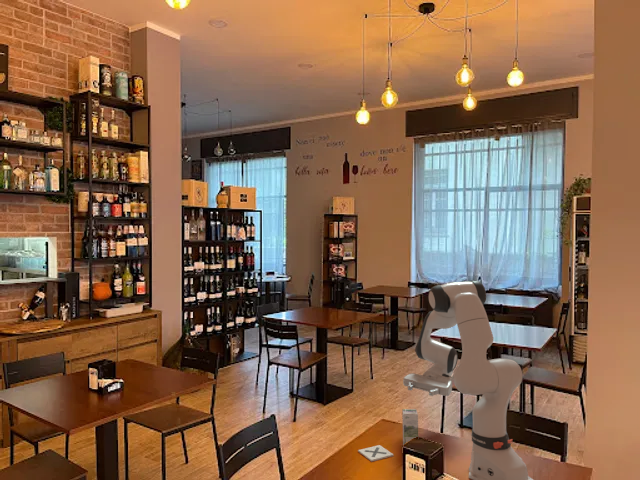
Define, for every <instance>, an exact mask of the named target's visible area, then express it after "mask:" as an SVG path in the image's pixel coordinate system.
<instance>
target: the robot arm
mask: <svg viewBox="0 0 640 480" xmlns="http://www.w3.org/2000/svg"><path fill="white" fill-rule="evenodd" d="M486 300H487V292H486V288H485V286H484V285H483V283H481V281H478V280H469V281H458V282H455V281H452V282H448V283H444V284H438V285H435V286H433V287H431V288H430V289H429V291H428V302H429V305H430V307H431V309H432V310H431V311H429V312H428V313H427V314H426V316H425V317H424V319H423V323H422V326H421V329H420V333H419V337H418V339H417V342H416V345H415V349H414V351H415V354H416V356H417V358H419V359H420V360H421V359H422V360H424V361H428V362H429V363H433V364H432V366H430V367H429V368H428V369H427V370H426V371H424V372H423V374H418V373H414V372H413V373H412V372H411V373H408V374H407V375H405V376H404V377H403V378H402V379H403V380H402V383H403V386H405V387H407V391H412V390H413V389H416V390H421V391H422V392H424V391H425V392H428V395H429V396H431V397H433V396H435V395H436V396H437V395H440V396H445V397H448V396H450V395H451V393H452V391H453V384H454V387H456V390H457V391H458V392H460V393H461V394H464V395H469V396H478V395H481V397H480V399H479V400H478V401H477V402H475V404H474V405H473V406H472V412H471V413H472V414H471V415H472V428H471V434H470V435H471V441H472V446H471V447H472V449H471V456H470V457H471V458H470V464H469V467H468V471H469V472H468V478H469V479H471V480H534V479H533V478H532V477H531V476H529V472H528V467H527V464H526V463H525V462H524V459H523V457H520V456H519V454H518V453H517V452H516V451H515V449H514V448H513V447H512V446H511V443H513V438H511V439H510V438H509V435H508V432H507V410H508V407H509V403H510V400H511V398H512V396H513V393H514V392H515V390H516V389H517V388H518V387H519V386H520V385H521V384H522V381H523V371H522V368H521V366H520V364H518V362H517V361H515V360H513V359H509V358H494V359H488V358H487V350H488V349H489V348H490V347H491V346H492V344H493V343H494V335H493V332H492V328H491V325H490V324H491V323H490V321H489V318H488V315H487V312H486V309H485V307H484V304H485V303H486V302H487V301H486ZM456 325H457V328H458V332H459V337H460V342H461V348H462V349H461V350H462V351H461V352H462V353H461V358H460V360H459V359H458V358H459V357H458V356H459V355H458V352H457V350H456V349H455V348H454V347H453V346H451V345H448V344H445V343H443V342H440V341H437V340H435V339H433V338H432V337H431V335H432V331H433V329H441V330H447V329H452V328H454V327H455V326H456ZM458 361H459V363H458ZM457 364H458V365H457ZM452 375H453V376H452Z"/></svg>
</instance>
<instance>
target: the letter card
mask: <svg viewBox="0 0 640 480" xmlns="http://www.w3.org/2000/svg"><path fill="white" fill-rule="evenodd" d="M357 452H358V453H359V454H360V455H362V456H364V457H365V458H366V459H367V460H369V461H370V462H371V463H372V462H376V461H379V460H383V459H388V458H392V457H394V456H395V455H394V453H392V452H390V451H389V450H388V449H387V448H386V447H385V448H384V447H383V446H382V445H380V444H378V445H374V446H371V447H366V448H362V449H358V450H357Z"/></svg>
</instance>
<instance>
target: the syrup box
mask: <svg viewBox="0 0 640 480" xmlns="http://www.w3.org/2000/svg"><path fill="white" fill-rule="evenodd" d="M401 415H402V445H404V444H405V443H406V442H408V441H410V440H411V439H413V438H416V437H418V438H419V414H418V411H417V408H402V414H401Z"/></svg>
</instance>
